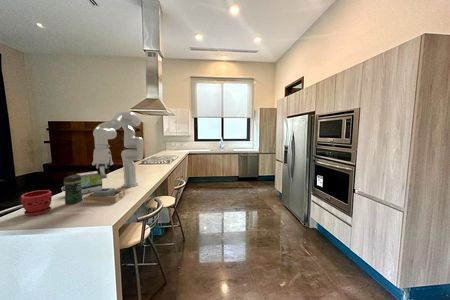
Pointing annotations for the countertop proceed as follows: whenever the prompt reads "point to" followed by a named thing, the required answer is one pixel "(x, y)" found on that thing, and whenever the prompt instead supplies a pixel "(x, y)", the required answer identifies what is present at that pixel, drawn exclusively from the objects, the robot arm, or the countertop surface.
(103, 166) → the salt shaker
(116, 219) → the countertop surface
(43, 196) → the plant pot
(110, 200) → the oak crate
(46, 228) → the countertop surface
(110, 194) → the inlet socket
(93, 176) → the tea box
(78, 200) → the coffee jar
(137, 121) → the robot arm
